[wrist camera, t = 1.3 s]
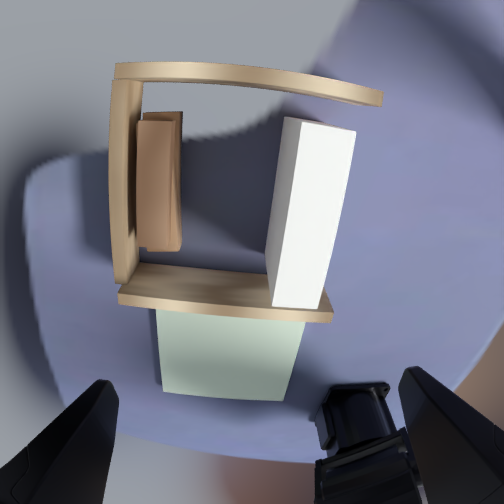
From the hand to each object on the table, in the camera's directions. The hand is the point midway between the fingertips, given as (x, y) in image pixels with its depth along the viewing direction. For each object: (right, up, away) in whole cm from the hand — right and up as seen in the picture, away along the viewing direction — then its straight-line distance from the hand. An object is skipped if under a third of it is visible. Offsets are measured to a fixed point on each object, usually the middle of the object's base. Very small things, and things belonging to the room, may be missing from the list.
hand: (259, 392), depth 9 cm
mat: (-2, -4, +17) cm, 17 cm away
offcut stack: (-6, +9, +11) cm, 15 cm away
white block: (+2, +8, +11) cm, 14 cm away
